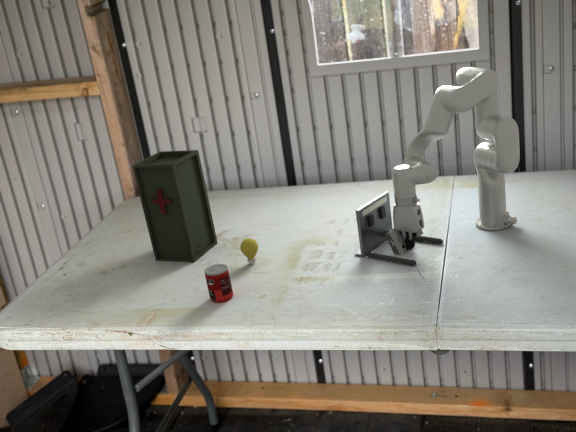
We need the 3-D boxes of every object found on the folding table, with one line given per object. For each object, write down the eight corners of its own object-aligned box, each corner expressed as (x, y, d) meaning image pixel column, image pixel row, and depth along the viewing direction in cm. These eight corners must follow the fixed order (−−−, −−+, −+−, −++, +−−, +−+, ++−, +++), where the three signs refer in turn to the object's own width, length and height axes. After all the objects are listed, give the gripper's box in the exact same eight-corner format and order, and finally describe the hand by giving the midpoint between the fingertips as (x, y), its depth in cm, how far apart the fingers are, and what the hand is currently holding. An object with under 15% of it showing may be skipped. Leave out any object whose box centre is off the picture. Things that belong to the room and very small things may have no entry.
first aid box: (217, 243, 272) (198, 150, 258) (194, 262, 257) (172, 164, 243) (180, 241, 280) (159, 151, 266) (155, 260, 265) (132, 165, 251)
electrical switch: (401, 255, 233) (394, 230, 231) (389, 256, 236) (382, 231, 235) (415, 245, 239) (408, 221, 237) (403, 245, 243) (396, 222, 241)
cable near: (417, 265, 224) (417, 259, 224) (414, 267, 223) (414, 262, 222) (368, 256, 237) (368, 250, 237) (365, 258, 236) (365, 253, 235)
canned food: (210, 294, 228) (204, 266, 224) (233, 290, 228) (227, 262, 224) (210, 305, 221) (203, 275, 217) (233, 300, 221) (227, 271, 217)
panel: (395, 236, 250) (390, 191, 244) (366, 257, 236) (360, 211, 230) (384, 234, 253) (379, 190, 247) (354, 255, 240) (348, 209, 233)
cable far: (444, 243, 237) (443, 238, 237) (441, 245, 236) (441, 240, 235) (396, 235, 250) (395, 231, 250) (393, 237, 249) (393, 233, 248)
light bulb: (263, 259, 249) (259, 235, 245) (257, 267, 243) (252, 242, 240) (247, 259, 251) (242, 235, 248) (240, 267, 245) (236, 242, 242)
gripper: (430, 198, 226) (434, 247, 232) (392, 194, 236) (397, 241, 242) (419, 206, 221) (424, 255, 227) (381, 202, 231) (386, 249, 237)
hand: (410, 248), depth 235 cm, fingers closed
